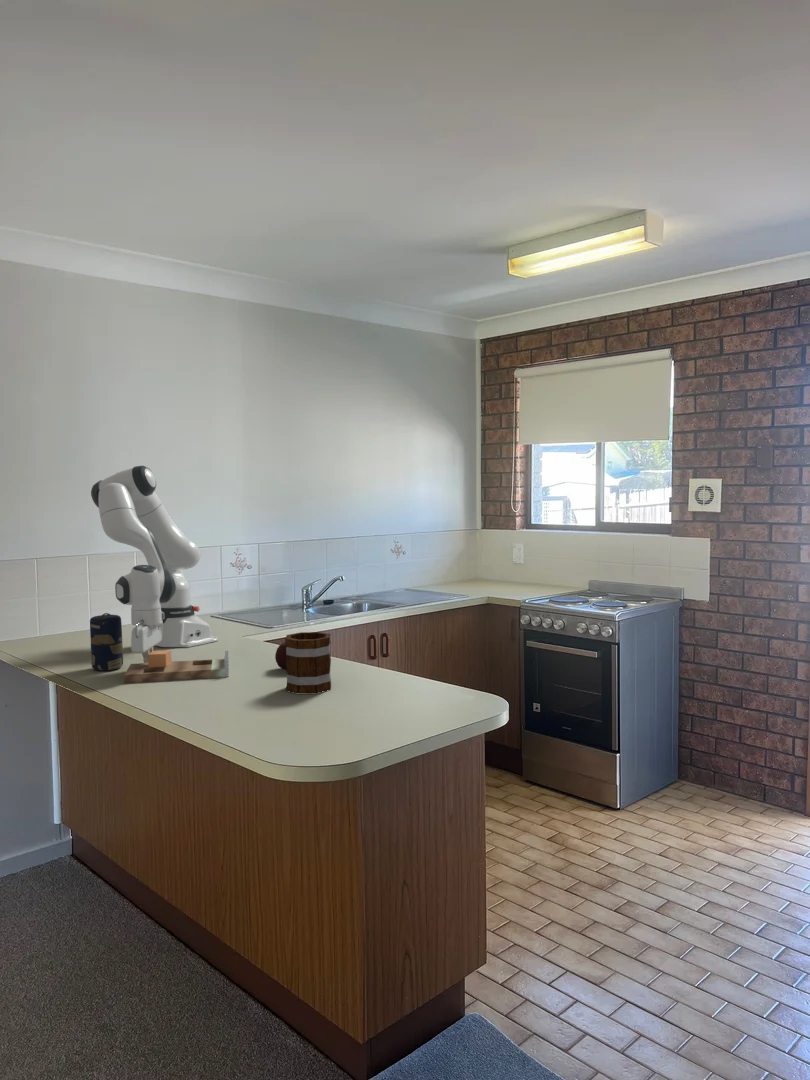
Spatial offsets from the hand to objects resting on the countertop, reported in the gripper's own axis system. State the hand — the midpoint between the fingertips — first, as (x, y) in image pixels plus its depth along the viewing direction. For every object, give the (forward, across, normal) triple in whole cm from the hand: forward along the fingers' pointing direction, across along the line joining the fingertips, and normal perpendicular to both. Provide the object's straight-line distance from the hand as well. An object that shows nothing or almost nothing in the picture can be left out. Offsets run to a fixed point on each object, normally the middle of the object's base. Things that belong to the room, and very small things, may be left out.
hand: (147, 661), depth 245 cm
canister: (+4, +7, +15) cm, 17 cm away
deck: (+4, -2, -10) cm, 11 cm away
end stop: (+4, +1, -24) cm, 24 cm away
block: (+1, 0, -4) cm, 4 cm away
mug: (+4, -19, -53) cm, 57 cm away
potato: (+4, +1, -44) cm, 44 cm away
